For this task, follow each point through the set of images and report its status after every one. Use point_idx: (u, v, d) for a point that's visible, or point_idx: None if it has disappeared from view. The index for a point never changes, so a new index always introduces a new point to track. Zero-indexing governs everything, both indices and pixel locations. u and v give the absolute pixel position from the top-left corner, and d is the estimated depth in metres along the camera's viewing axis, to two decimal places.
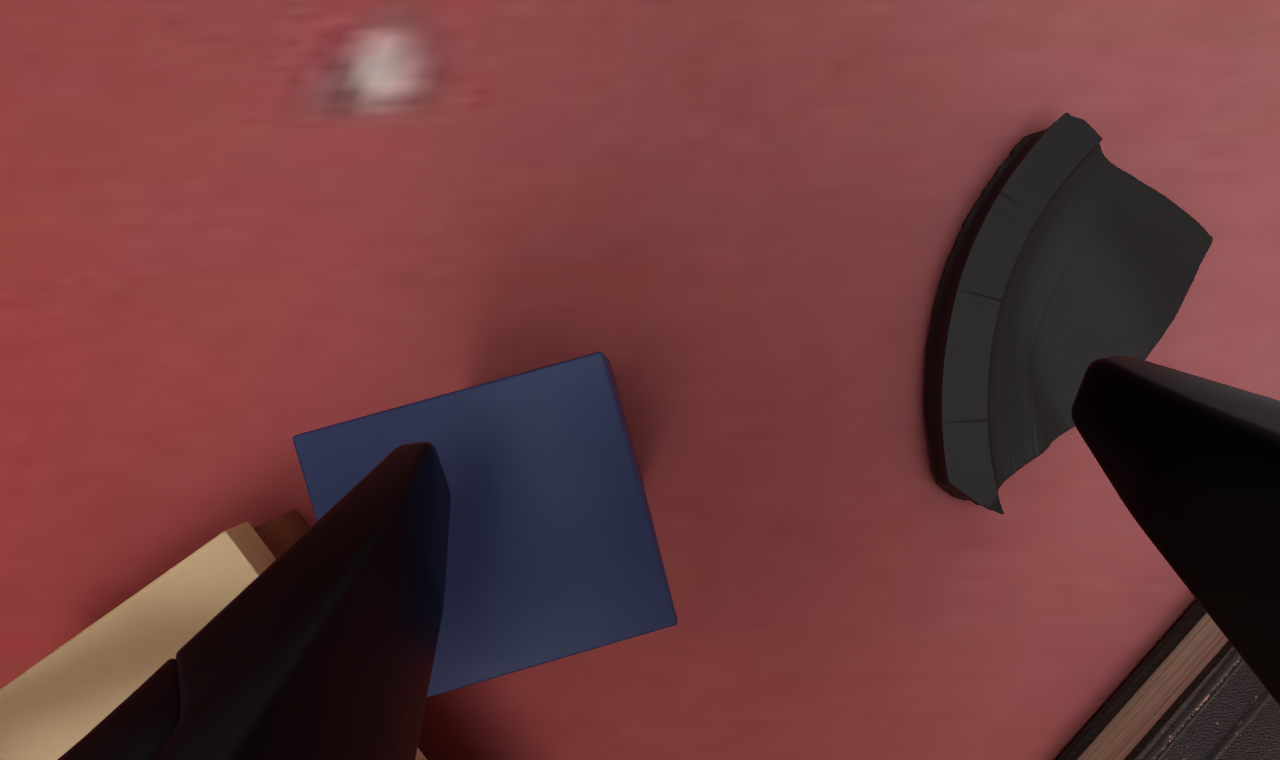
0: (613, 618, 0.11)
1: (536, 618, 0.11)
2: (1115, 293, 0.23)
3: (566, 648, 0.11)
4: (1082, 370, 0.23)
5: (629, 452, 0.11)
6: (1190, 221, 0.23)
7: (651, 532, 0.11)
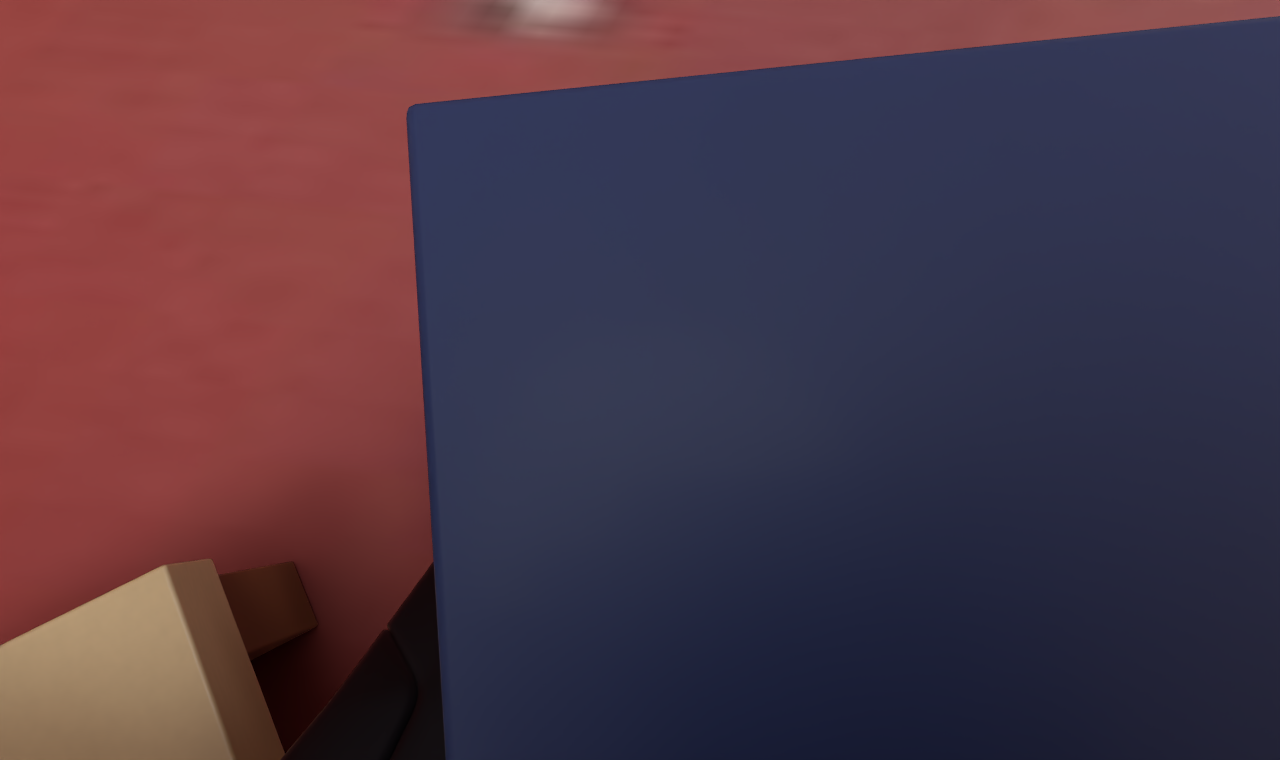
0: None
1: None
2: None
3: None
4: None
5: None
6: None
7: None
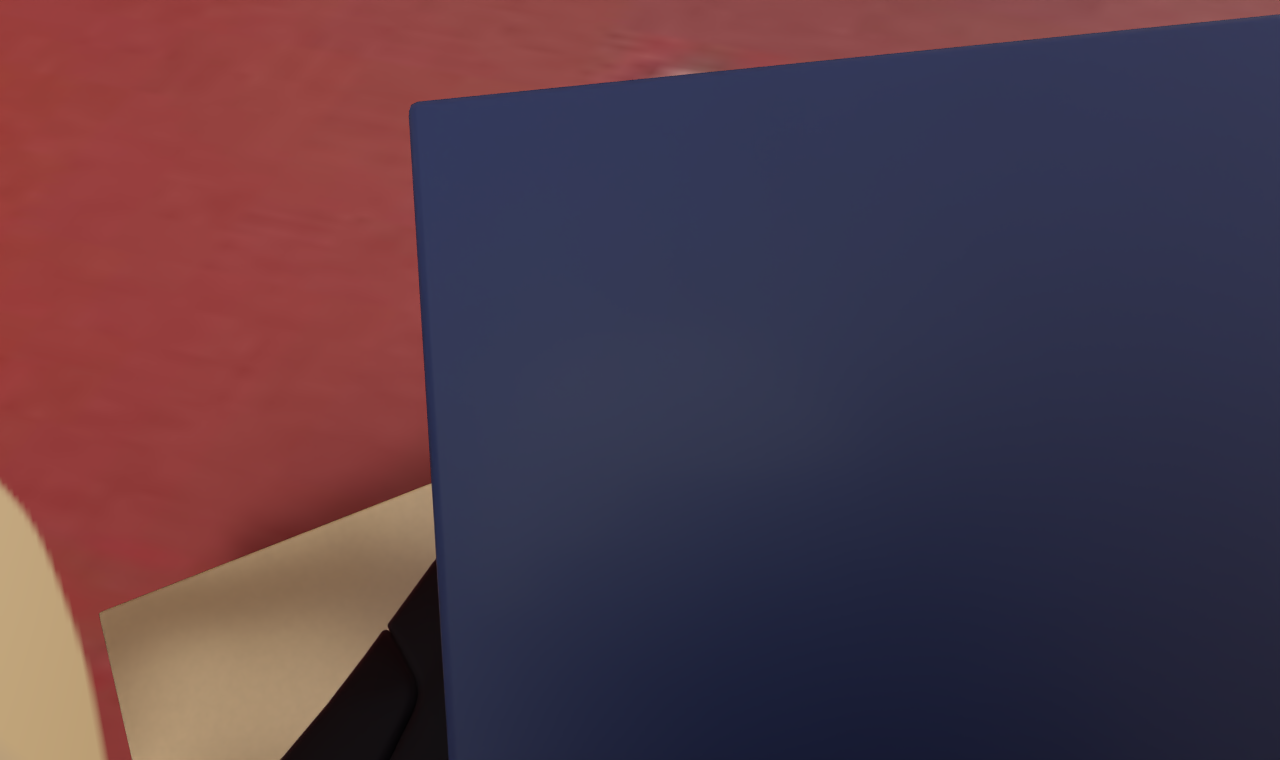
0: None
1: None
2: None
3: None
4: None
5: None
6: None
7: None
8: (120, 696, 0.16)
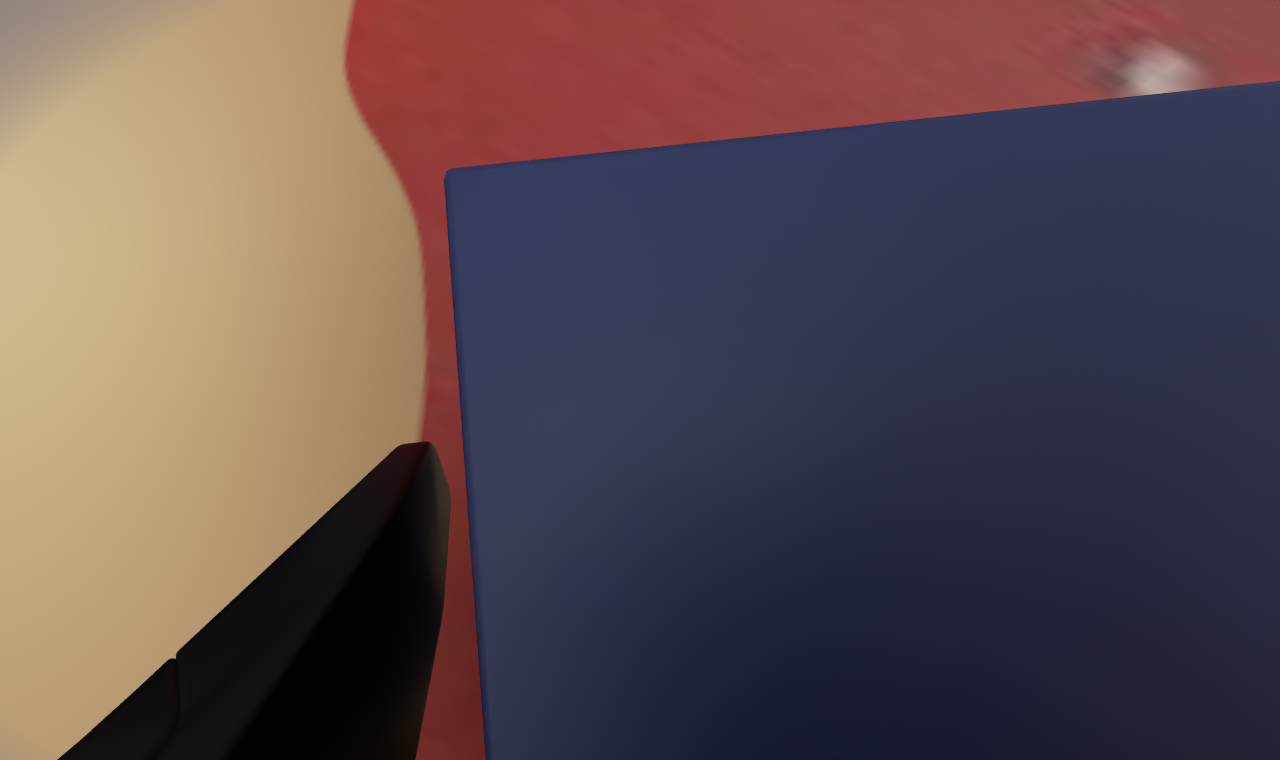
0: None
1: None
2: None
3: None
4: None
5: None
6: None
7: None
8: None
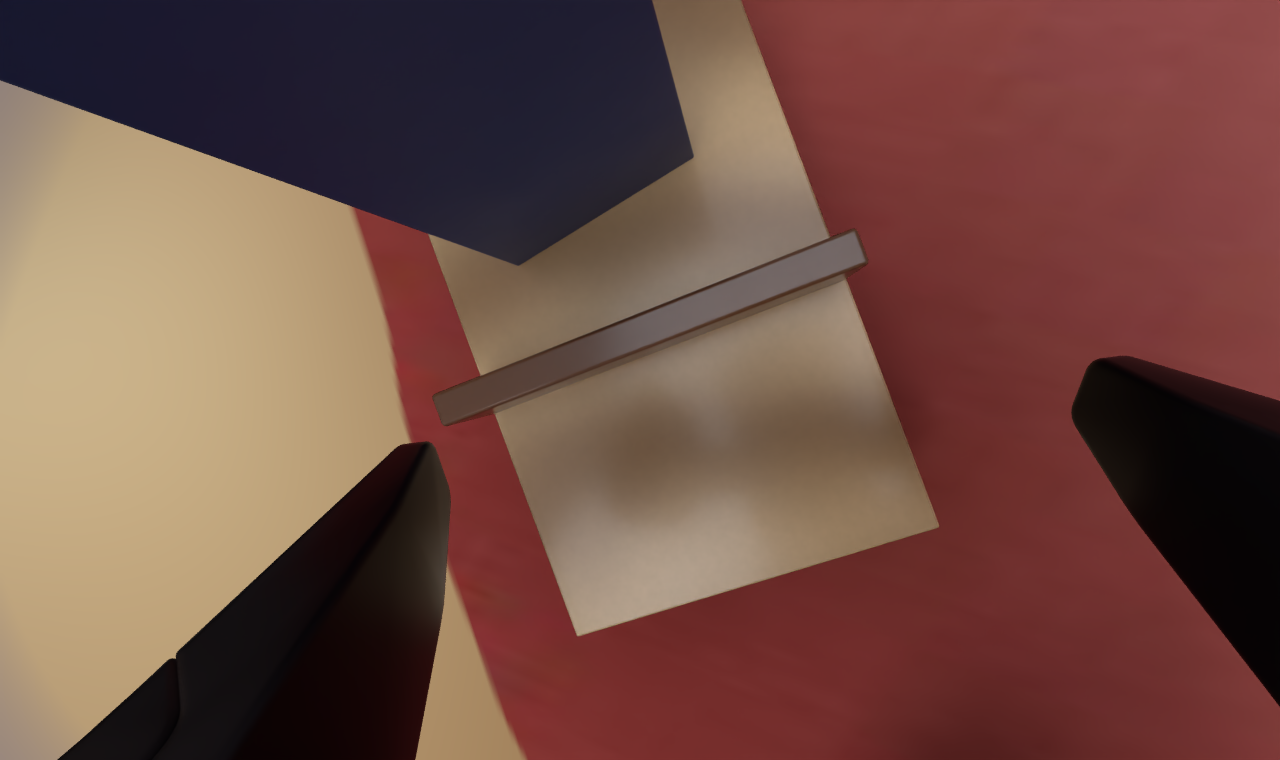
0: None
1: None
2: None
3: None
4: None
5: None
6: None
7: None
8: None
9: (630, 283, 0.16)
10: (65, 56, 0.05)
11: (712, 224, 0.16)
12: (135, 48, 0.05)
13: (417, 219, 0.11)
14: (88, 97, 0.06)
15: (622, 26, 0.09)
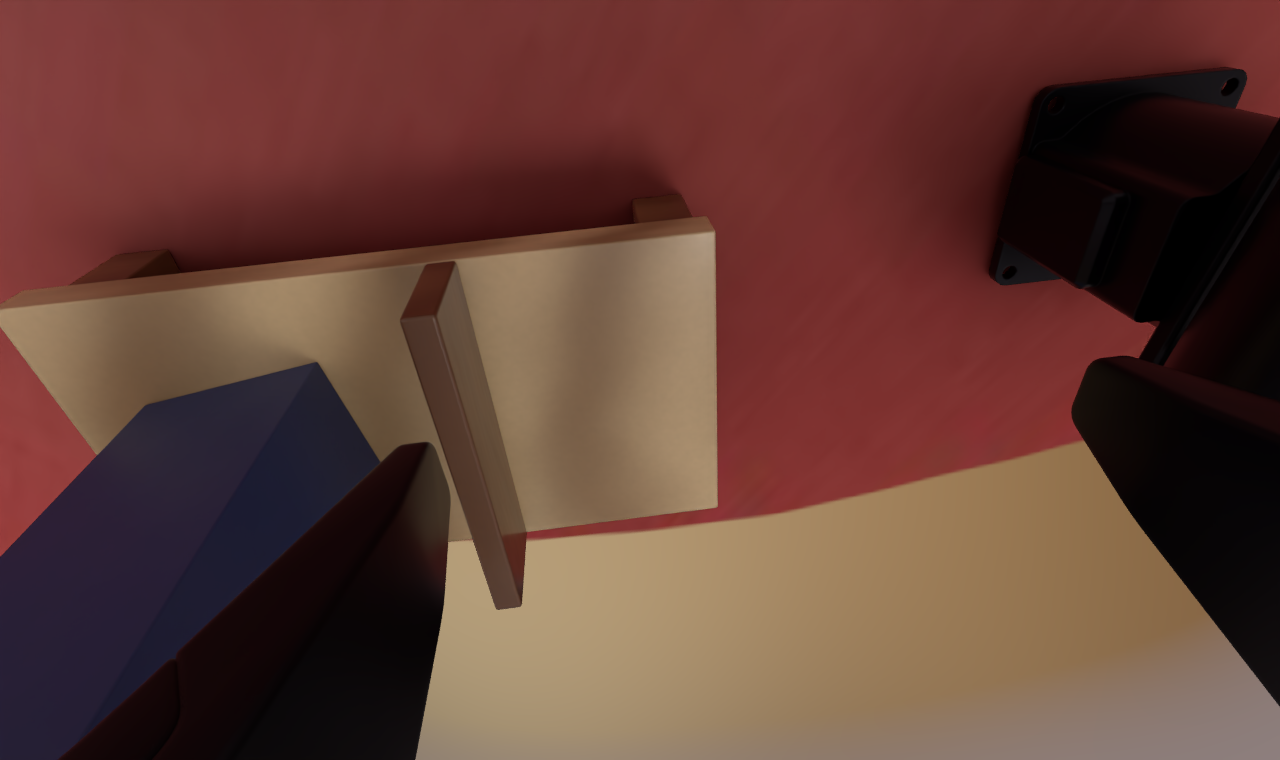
0: None
1: None
2: None
3: None
4: None
5: None
6: None
7: None
8: None
9: (432, 428, 0.18)
10: None
11: (386, 358, 0.17)
12: None
13: None
14: None
15: (200, 597, 0.11)
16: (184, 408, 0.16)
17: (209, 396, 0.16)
